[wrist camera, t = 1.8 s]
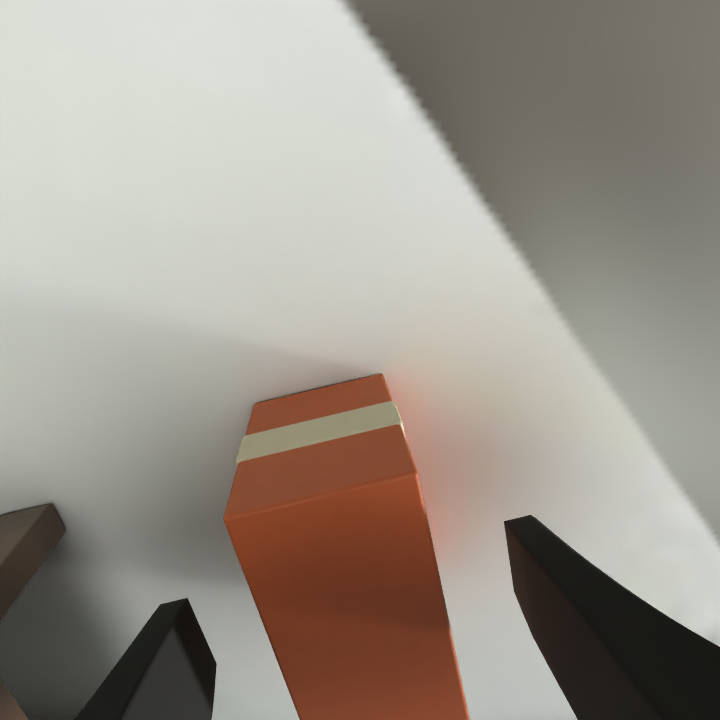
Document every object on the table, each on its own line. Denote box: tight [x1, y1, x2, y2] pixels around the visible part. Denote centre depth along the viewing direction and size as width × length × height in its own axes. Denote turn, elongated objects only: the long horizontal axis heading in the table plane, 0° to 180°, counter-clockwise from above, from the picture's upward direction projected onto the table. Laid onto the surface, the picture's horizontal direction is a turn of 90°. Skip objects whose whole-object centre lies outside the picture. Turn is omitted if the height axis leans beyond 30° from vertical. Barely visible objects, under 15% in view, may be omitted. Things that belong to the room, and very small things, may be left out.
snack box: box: [223, 374, 470, 720], centre depth 13 cm, size 7×4×5 cm, turn 13°
